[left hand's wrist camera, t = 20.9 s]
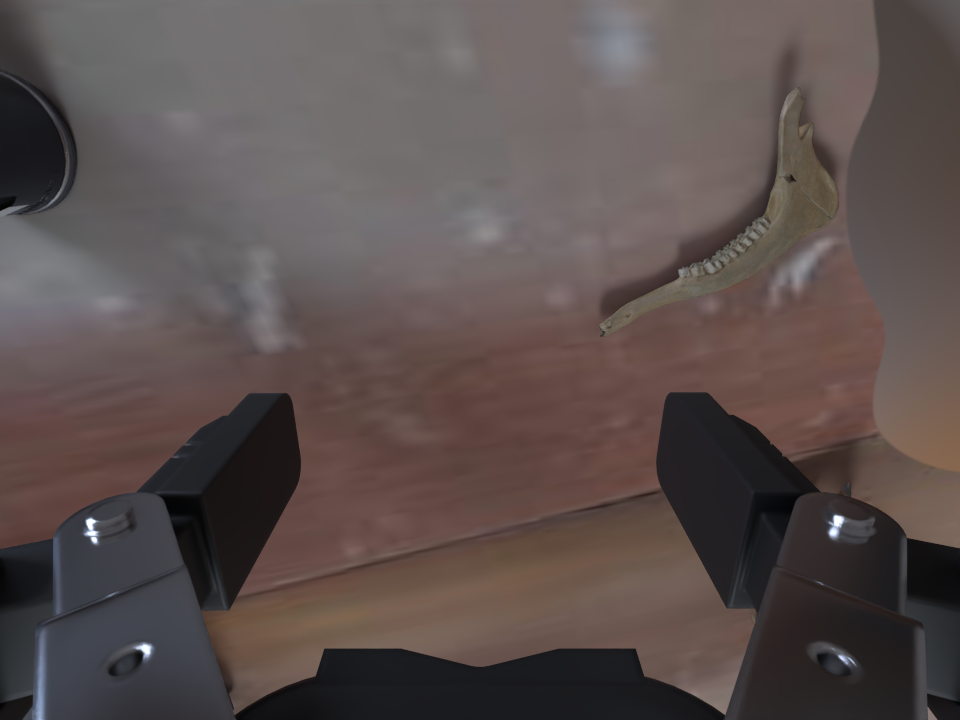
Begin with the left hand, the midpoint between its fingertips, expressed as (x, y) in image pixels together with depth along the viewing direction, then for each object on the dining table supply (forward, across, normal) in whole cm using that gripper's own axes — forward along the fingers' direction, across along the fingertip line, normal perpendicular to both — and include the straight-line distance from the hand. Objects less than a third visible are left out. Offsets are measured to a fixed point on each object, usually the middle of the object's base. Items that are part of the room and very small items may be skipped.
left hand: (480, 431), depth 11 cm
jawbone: (+30, +16, +1) cm, 34 cm away
